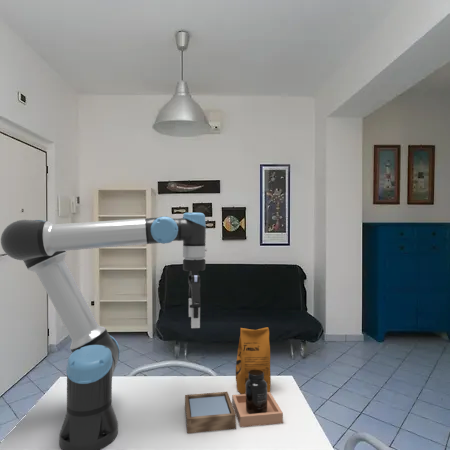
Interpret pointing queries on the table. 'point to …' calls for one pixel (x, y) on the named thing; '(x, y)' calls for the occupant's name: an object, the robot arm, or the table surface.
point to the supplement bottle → (256, 392)
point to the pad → (208, 406)
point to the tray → (246, 419)
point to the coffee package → (253, 356)
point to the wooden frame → (210, 416)
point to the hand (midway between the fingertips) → (193, 321)
